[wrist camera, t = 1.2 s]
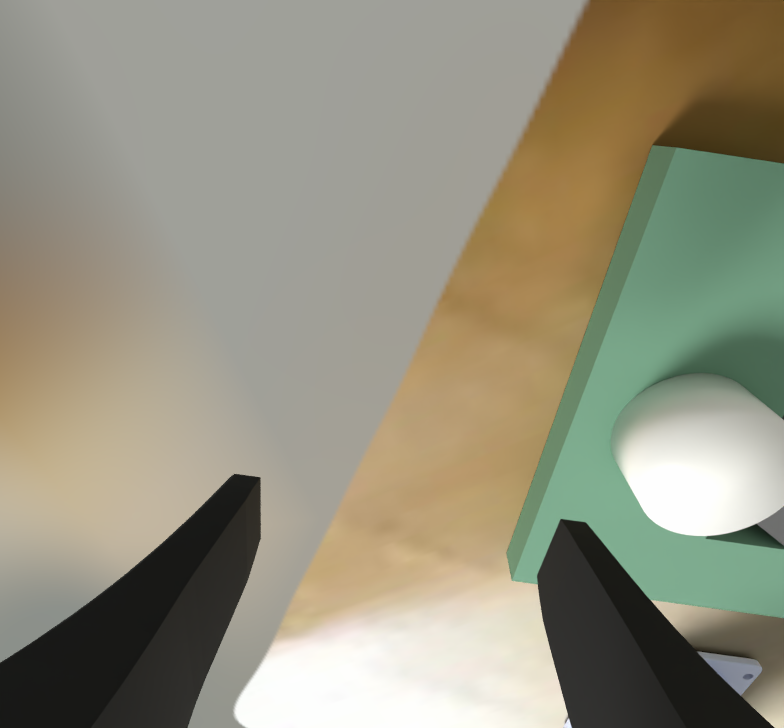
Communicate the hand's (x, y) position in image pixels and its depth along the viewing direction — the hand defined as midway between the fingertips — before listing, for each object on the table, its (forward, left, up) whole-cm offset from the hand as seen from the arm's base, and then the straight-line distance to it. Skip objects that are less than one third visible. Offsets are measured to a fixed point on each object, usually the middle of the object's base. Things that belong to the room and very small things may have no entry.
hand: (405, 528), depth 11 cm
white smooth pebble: (0, -10, -6) cm, 12 cm away
